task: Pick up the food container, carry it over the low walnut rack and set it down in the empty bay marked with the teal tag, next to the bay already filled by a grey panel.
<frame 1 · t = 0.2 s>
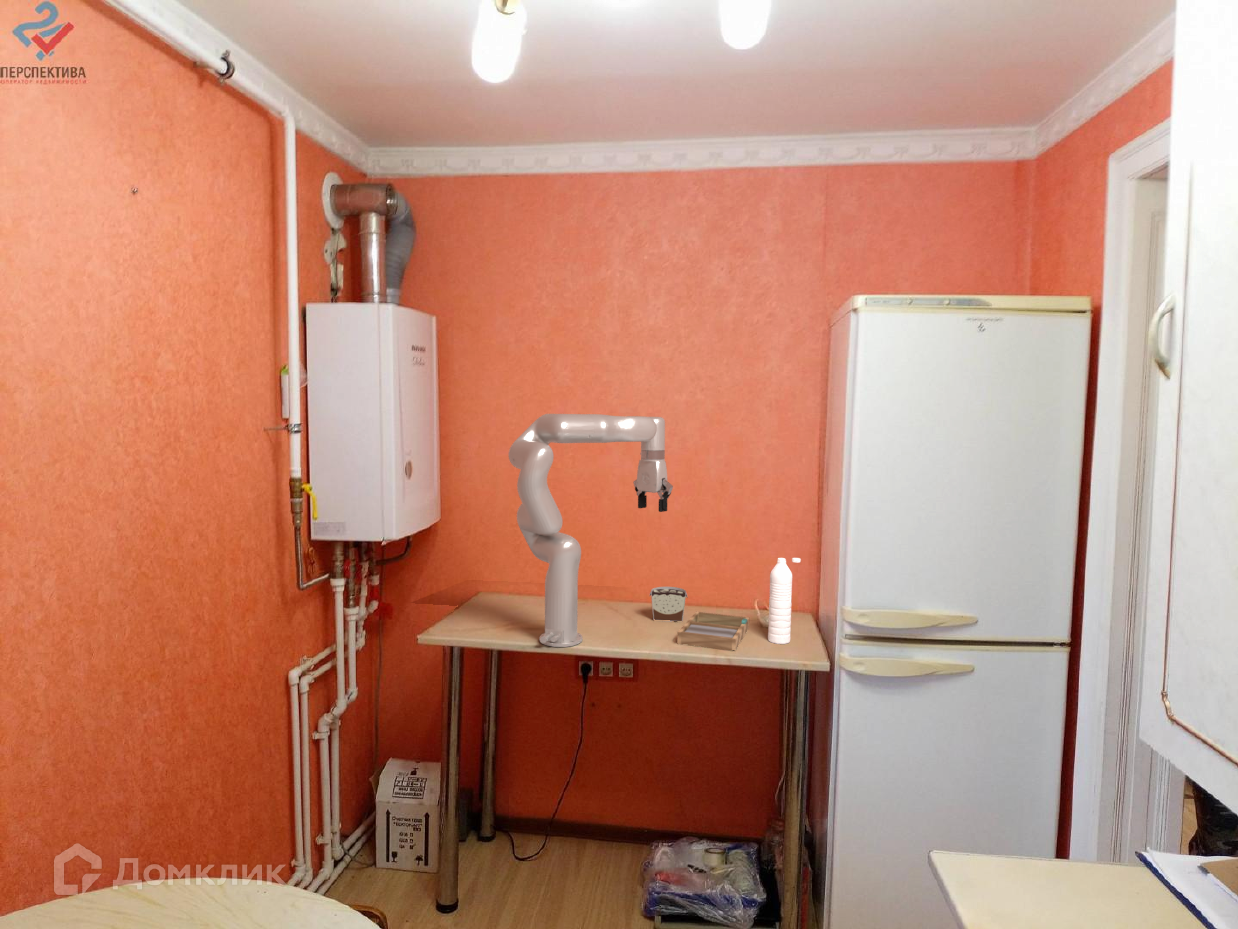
hand: (652, 509, 225), 36 cm above the table, tool pointing down, fingers open, 9 cm apart
rack: (714, 635, 215), on the table
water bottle: (782, 641, 211), on the table
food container: (668, 619, 232), on the table
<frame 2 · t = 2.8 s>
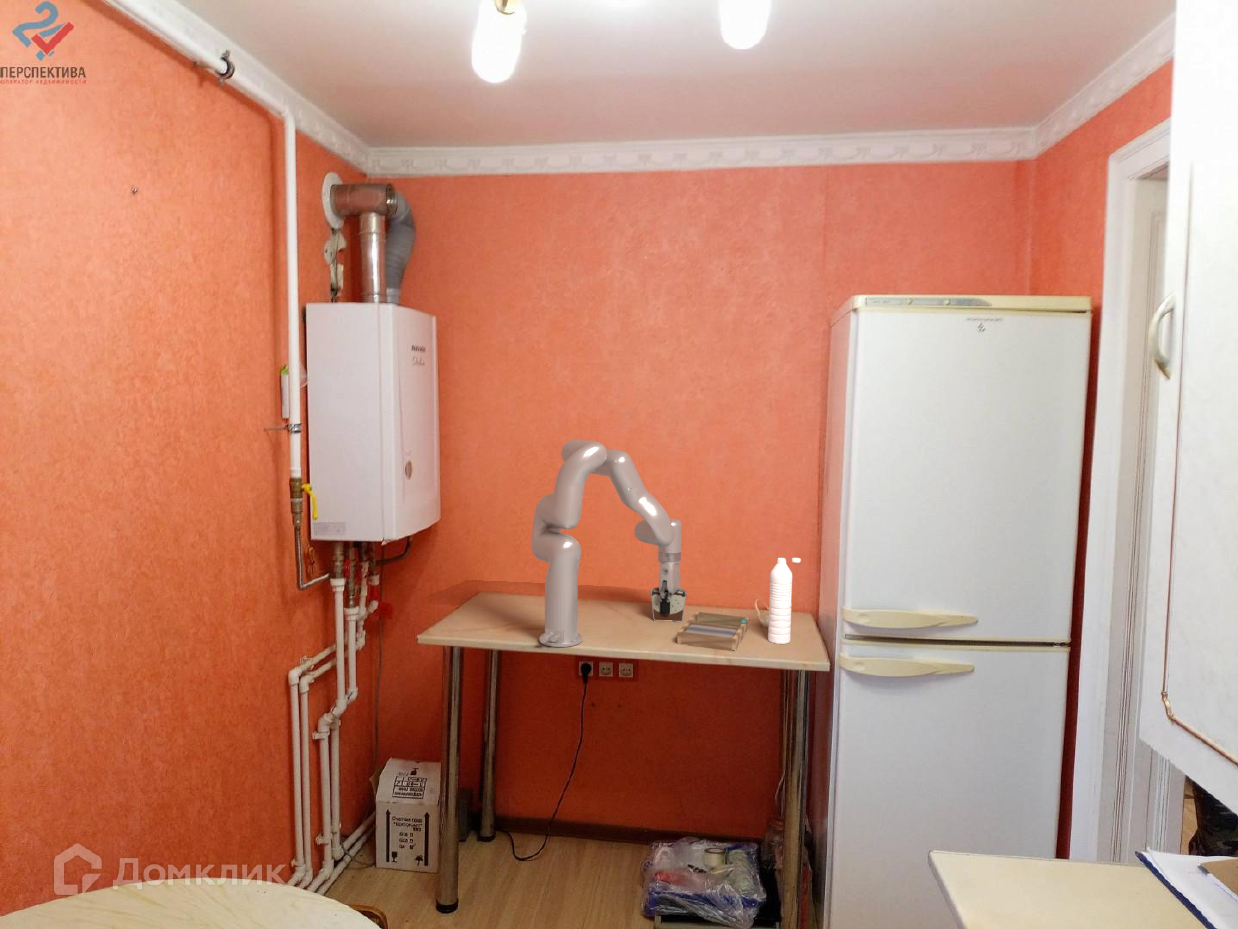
hand: (668, 610, 232), 3 cm above the table, tool pointing down, fingers open, 6 cm apart
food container: (668, 619, 232), on the table, touching gripper
everything else where it was.
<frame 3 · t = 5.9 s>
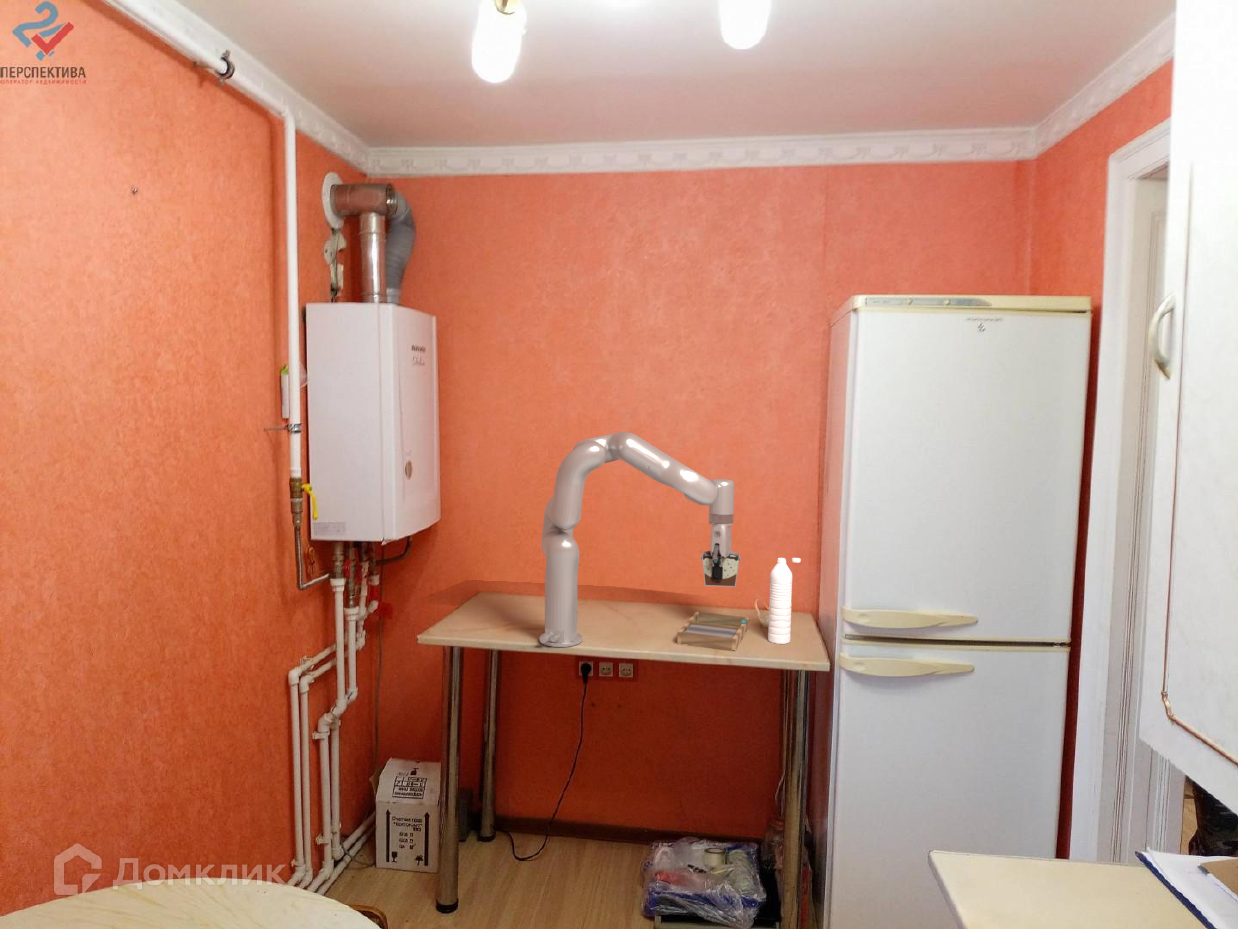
hand: (719, 576, 219), 17 cm above the table, tool pointing down, fingers closed on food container, 5 cm apart
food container: (719, 584, 220), point 14 cm above the table, touching gripper
everything else where it was.
when the fingers open (5 cm above the table, at t = 8.5 s): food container drops 2 cm, resting on rack.
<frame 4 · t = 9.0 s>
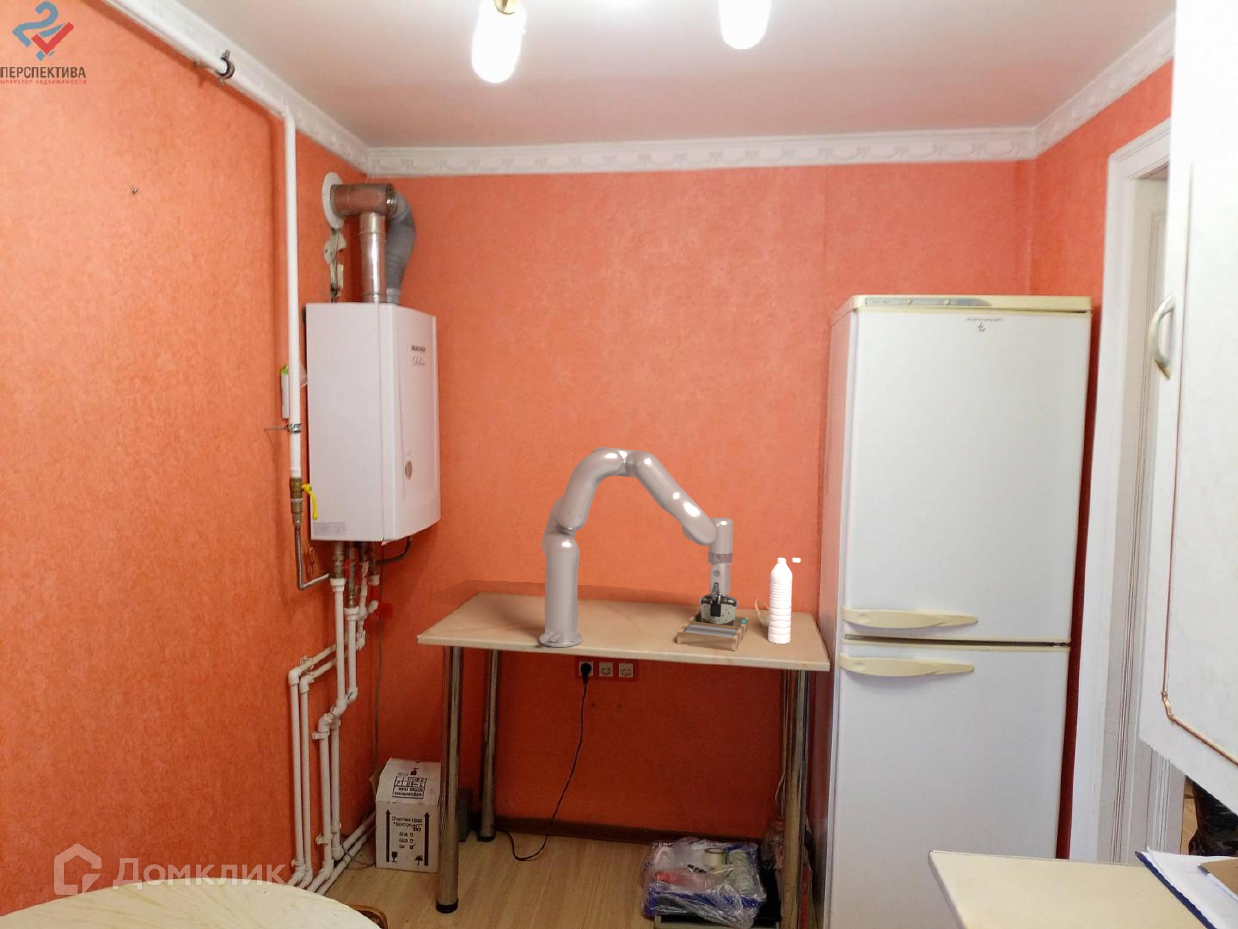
hand: (718, 612, 220), 6 cm above the table, tool pointing down, fingers open, 9 cm apart
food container: (718, 628, 222), resting on rack, touching gripper
everything else where it was.
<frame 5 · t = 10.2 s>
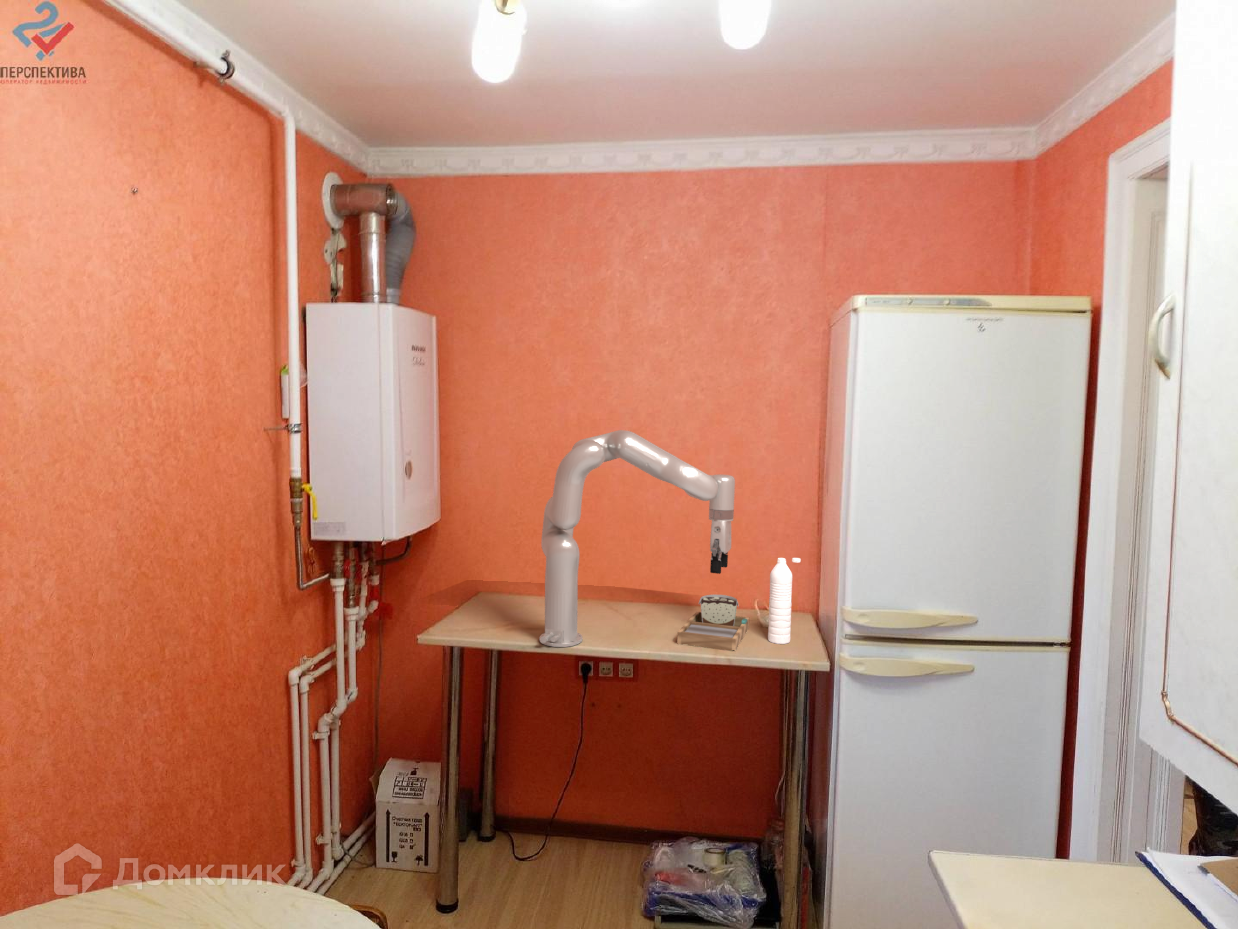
hand: (718, 570, 219), 19 cm above the table, tool pointing down, fingers open, 9 cm apart
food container: (718, 628, 222), resting on rack
everything else where it was.
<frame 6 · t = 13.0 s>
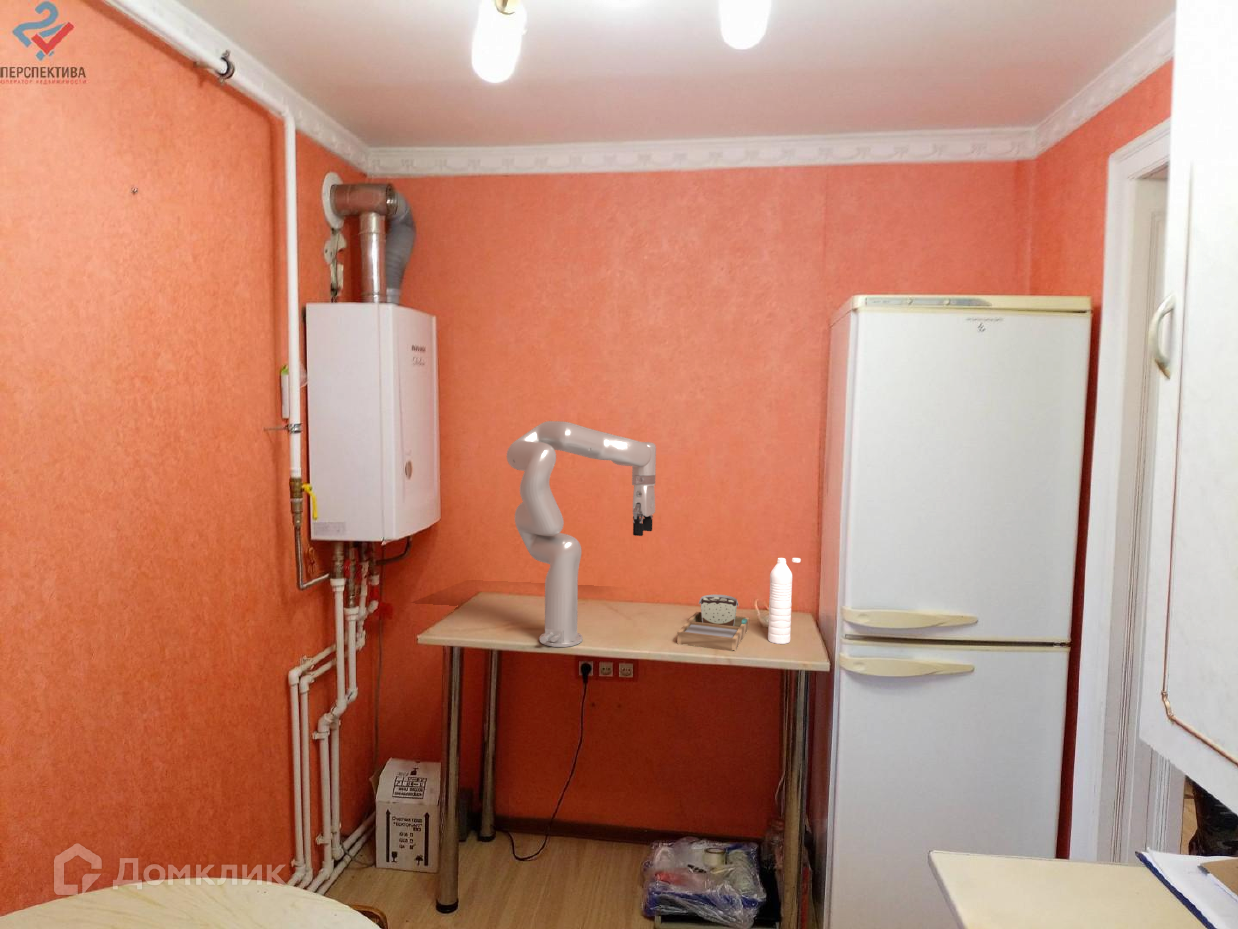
hand: (642, 533, 229), 28 cm above the table, tool pointing down, fingers open, 9 cm apart
nothing on the table moved.
at the end: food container inside the target area on the rack (2.0 cm from its centre), point 0.0 cm above the rack's base; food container tilted 0°; the gripper is holding nothing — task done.
